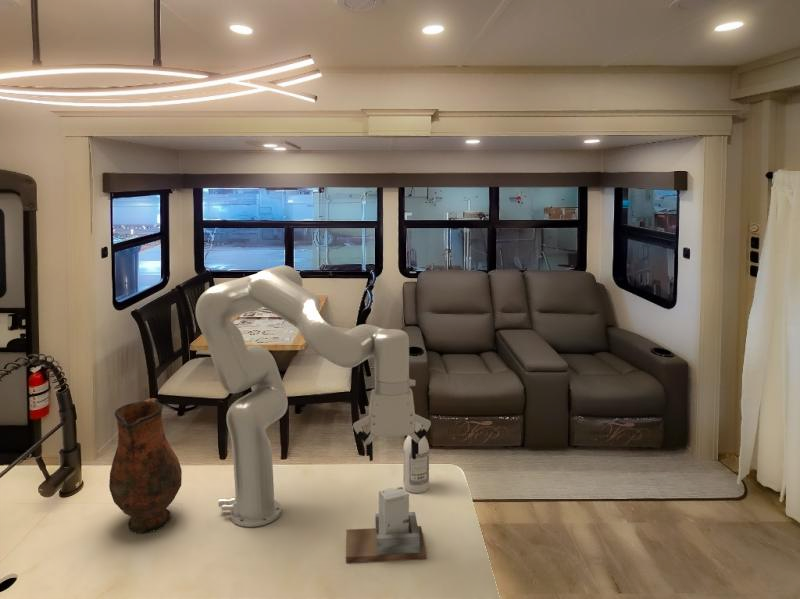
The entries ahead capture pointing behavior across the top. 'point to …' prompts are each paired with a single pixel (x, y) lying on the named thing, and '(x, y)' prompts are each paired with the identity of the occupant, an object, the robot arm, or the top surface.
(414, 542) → the u rest
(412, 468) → the bath foam
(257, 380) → the robot arm
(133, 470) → the pitcher
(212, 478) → the top surface
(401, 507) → the skincare box
